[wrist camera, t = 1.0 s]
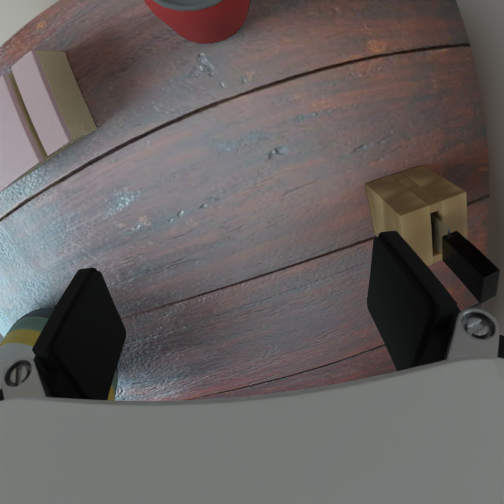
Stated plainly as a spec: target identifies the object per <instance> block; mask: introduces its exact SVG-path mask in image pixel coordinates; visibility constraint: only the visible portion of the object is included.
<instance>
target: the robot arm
mask: <svg viewBox="0 0 504 504" xmlns="http://www.w3.org/2000/svg"><path fill="white" fill-rule="evenodd" d="M456 305H457V303H456V302H455V300H454V299H453V298H452V296H451V295H450V294H449V293H448V291H447V290H446V289H445V288H444V286H443V285H442V284H441V283H440V281H439V280H438V279H437V278H436V276H435V275H434V274H433V273H432V271H431V270H430V269H429V268H428V267H427V265H426V264H425V263H424V262H423V261H422V259H421V258H420V257H419V256H418V255H417V254H416V252H415V251H414V250H413V249H412V248H411V247H410V246H409V244H408V243H407V242H406V241H405V240H404V239H403V238H402V236H401V235H400V234H399V233H398V232H397V231H387V232H380V233H379V235H378V237H375V238H374V242H373V252H372V263H371V272H370V281H369V289H368V297H367V306H368V310H369V312H370V314H371V316H372V318H373V320H374V322H375V324H376V326H377V328H378V330H379V333H380V335H381V337H382V339H383V341H384V343H385V345H386V347H387V350H388V352H389V354H390V356H391V358H392V360H393V363H394V365H395V367H396V369H397V372H392V373H388V374H383V375H379V376H374V377H369V378H364V379H359V380H354V381H349V382H344V383H339V384H333V385H328V386H322V387H316V388H309V389H303V390H296V391H288V392H281V393H273V394H264V395H255V396H245V397H234V398H221V399H205V400H182V401H111V400H107V399H108V396H109V392H110V389H111V385H112V381H113V378H114V374H115V371H116V368H117V364H118V361H119V358H120V354H121V351H122V348H123V345H124V342H125V338H126V330H125V327H124V325H123V323H122V320H121V318H120V316H119V314H118V312H117V309H116V307H115V305H114V302H113V300H112V298H111V295H110V293H109V291H108V288H107V286H106V283H105V281H104V278H103V276H102V274H101V272H100V271H97V270H96V269H95V268H86V269H80V270H78V272H77V273H76V275H75V276H74V278H73V279H72V281H71V282H70V284H69V286H68V287H67V289H66V290H65V292H64V294H63V295H62V297H61V299H60V300H59V302H58V304H57V305H56V307H55V309H54V310H53V312H52V314H51V316H50V317H49V319H48V321H47V323H46V324H45V326H44V328H43V330H42V332H41V333H40V335H39V337H38V339H37V341H36V343H35V344H34V346H33V348H32V351H33V353H34V354H35V358H34V360H33V359H32V358H30V357H27V356H23V357H19V358H17V359H14V360H13V361H12V362H10V363H9V364H8V365H7V366H6V368H5V369H4V371H3V373H2V376H1V385H2V388H1V389H0V504H504V336H502V335H500V328H499V324H498V322H497V320H496V319H495V318H494V317H493V316H492V315H491V314H490V313H488V312H487V311H484V310H482V309H478V308H467V309H464V310H462V311H460V310H459V308H458V307H457V306H456Z"/></svg>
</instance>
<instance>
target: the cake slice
mask: <svg viewBox="0 0 504 504" xmlns="http://www.w3.org/2000/svg"><path fill="white" fill-rule="evenodd" d="M11 69H12V72H13V75H14V77H15V80H16V83H17V86H18V88H19V91H20V93H21V96H22V98H23V101H24V103H25V106H26V108H27V111H28V113H29V116H30V118H31V120H32V123H33V125H34V127H35V129H36V132H37V134H38V136H39V138H40V141H41V143H42V145H43V147H44V149H45V151H46V153H47V155H48V156H49V155H51V154H53V153H55V152H57V151H59V150H61V149H63V148H65V147H67V146H69V145H71V144H73V143H75V142H77V141H79V140H80V139H82V138H84V137H85V136H87V135H89V134H90V133H92V132H94V131H96V130H97V127H96V125H95V123H94V120H93V118H92V116H91V114H90V112H89V109H88V107H87V105H86V102H85V100H84V98H83V96H82V93H81V91H80V89H79V86H78V84H77V81H76V79H75V77H74V74H73V72H72V69H71V67H70V64H69V62H68V59H67V57H66V54H65V52H60V51H43V50H31V51H29V52H28V53H27V54H26V55H25V56H23V57H22V58H21V59H20V60H19V61H17V62H16V63H15V64H14V65H13V66H12V67H11Z"/></svg>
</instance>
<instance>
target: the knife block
mask: <svg viewBox="0 0 504 504" xmlns="http://www.w3.org/2000/svg"><path fill="white" fill-rule="evenodd" d="M365 187H366V192H367V197H368V201H369V206H370V211H371V216H372V222H373V227H374V232H375V235H376V236H377V237H378V235H379V233H380V232H387V231H397V232H398V233H399V234H400V235H401V236H402V238H403V239H404V240H405V241H406V242H407V243H408V244H409V246H410V247H411V248H412V249H413V250H414V251H415V252H416V254H417V255H418V256H419V257H420V258H421V259H422V261H423V262H424V263H425V264H426V265H427V266H429V265H431V264H433V263H435V262H438V261H440V260H442V254H441V253H440V252H439V251H438V250H437V249H436V248H435V247H434V246H433V245H432V231H431V217H430V213H433V214H434V215H435V216H437V217H438V218H439V219H440V220H441V221H442V222H444V223H445V224H446V225H447V226H448V227H449V228H450V233H452V232H454V231H458V232H459V233H460V234H461V235H462V236H464V237H465V238H466V239H467V197H466V192H465V191H464V190H462V189H461V188H459V187H458V186H456V185H454V184H453V183H451V182H450V181H448V180H446V179H445V178H443V177H441V176H440V175H438V174H436V173H435V172H433V171H431V170H429V169H428V168H426V167H424V166H423V165H421V166H418V167H415V168H412V169H408V170H405V171H402V172H400V173H396V174H393V175H390V176H386V177H383V178H380V179H377V180H374V181H371V182H368V183H365Z"/></svg>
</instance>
